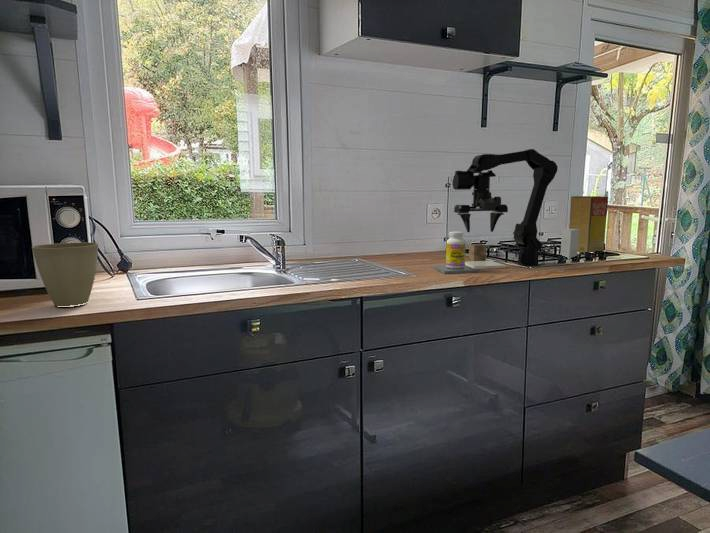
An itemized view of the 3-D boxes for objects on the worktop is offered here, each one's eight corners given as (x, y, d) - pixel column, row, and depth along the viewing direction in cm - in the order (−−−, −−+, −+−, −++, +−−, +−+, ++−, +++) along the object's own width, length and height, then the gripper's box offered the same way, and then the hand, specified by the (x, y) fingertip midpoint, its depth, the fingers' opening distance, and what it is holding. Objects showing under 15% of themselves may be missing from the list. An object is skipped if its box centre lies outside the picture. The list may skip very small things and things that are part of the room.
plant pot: (105, 307, 127) (99, 245, 124) (37, 314, 119) (29, 249, 117) (102, 296, 139) (96, 240, 137) (40, 302, 132) (33, 244, 130)
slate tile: (464, 267, 183) (464, 264, 183) (477, 272, 171) (477, 269, 171) (433, 268, 181) (433, 265, 181) (444, 273, 169) (444, 271, 169)
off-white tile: (490, 263, 192) (491, 260, 192) (505, 267, 180) (505, 265, 180) (461, 264, 190) (461, 261, 190) (474, 269, 178) (474, 266, 178)
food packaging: (605, 253, 215) (609, 196, 211) (587, 254, 212) (591, 196, 208) (583, 250, 227) (586, 195, 223) (566, 251, 225) (569, 196, 221)
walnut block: (480, 261, 198) (480, 243, 197) (485, 262, 193) (486, 245, 192) (468, 261, 197) (469, 244, 196) (473, 263, 193) (474, 245, 191)
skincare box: (567, 257, 206) (569, 228, 204) (577, 258, 202) (579, 229, 200) (559, 258, 202) (561, 229, 200) (569, 259, 199) (571, 230, 197)
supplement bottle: (448, 269, 173) (448, 232, 171) (444, 266, 179) (444, 231, 177) (467, 269, 173) (467, 232, 171) (462, 266, 179) (463, 231, 177)
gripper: (465, 189, 170) (464, 234, 173) (516, 189, 173) (514, 233, 176) (454, 189, 181) (453, 232, 183) (501, 189, 184) (499, 230, 186)
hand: (480, 232), depth 182 cm, fingers open, 9 cm apart
